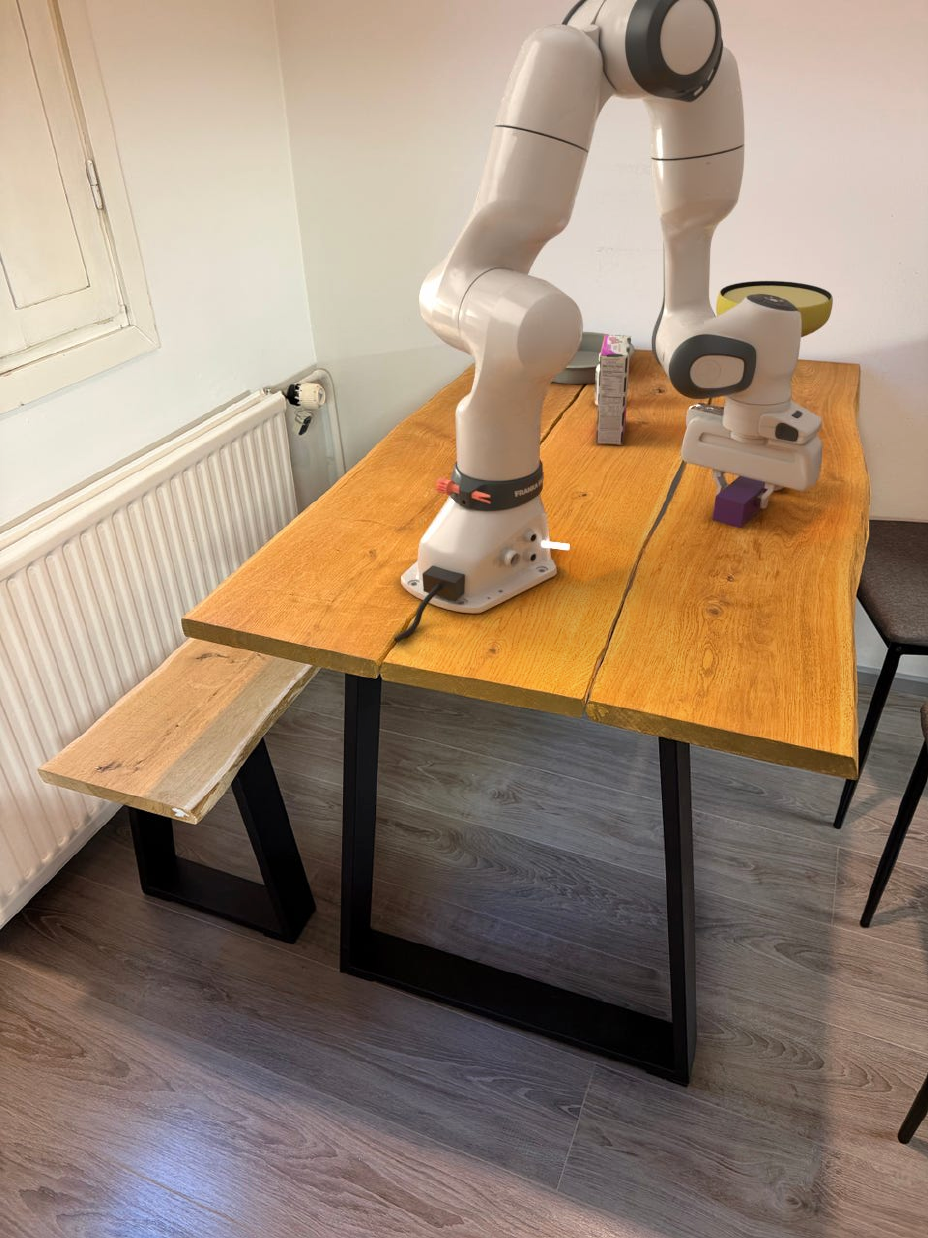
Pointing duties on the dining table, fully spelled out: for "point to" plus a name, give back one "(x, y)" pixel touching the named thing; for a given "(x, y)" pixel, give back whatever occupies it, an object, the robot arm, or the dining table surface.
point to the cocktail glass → (805, 298)
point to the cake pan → (585, 361)
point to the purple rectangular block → (738, 501)
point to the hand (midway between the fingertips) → (741, 501)
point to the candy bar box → (613, 389)
